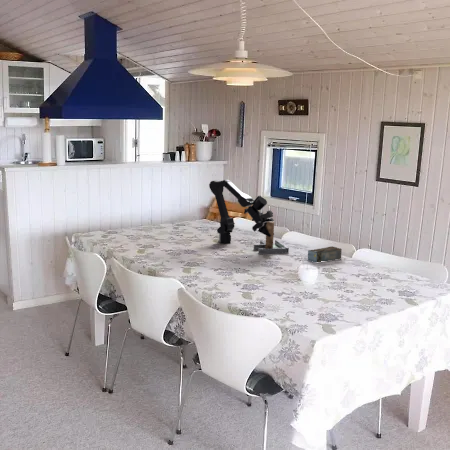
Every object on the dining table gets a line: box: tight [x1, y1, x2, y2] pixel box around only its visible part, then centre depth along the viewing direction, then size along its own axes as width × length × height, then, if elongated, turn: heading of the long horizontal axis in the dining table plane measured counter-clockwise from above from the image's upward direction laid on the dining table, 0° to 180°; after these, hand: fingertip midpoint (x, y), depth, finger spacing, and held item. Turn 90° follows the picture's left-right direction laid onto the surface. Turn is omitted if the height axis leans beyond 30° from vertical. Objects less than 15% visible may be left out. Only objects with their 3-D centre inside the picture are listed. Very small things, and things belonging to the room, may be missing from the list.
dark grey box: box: [307, 246, 342, 263], centre depth 302 cm, size 8×19×7 cm, turn 123°
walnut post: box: [265, 221, 275, 248], centre depth 315 cm, size 4×4×16 cm
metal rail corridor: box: [253, 239, 290, 255], centre depth 321 cm, size 18×21×3 cm
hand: (271, 235), depth 314 cm, fingers closed on walnut post, 4 cm apart
